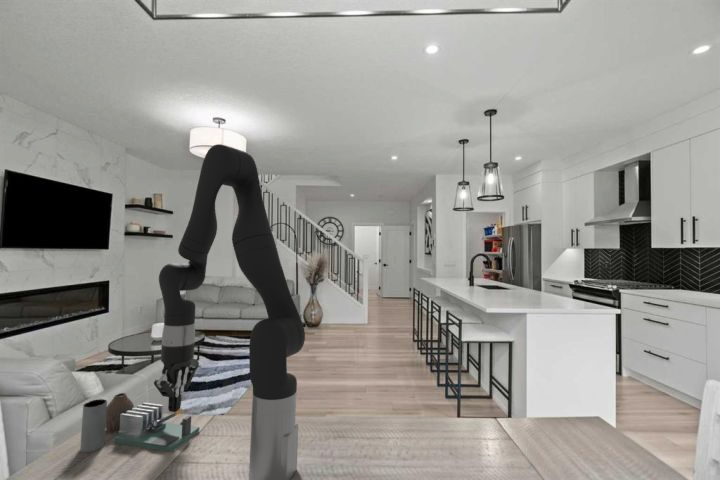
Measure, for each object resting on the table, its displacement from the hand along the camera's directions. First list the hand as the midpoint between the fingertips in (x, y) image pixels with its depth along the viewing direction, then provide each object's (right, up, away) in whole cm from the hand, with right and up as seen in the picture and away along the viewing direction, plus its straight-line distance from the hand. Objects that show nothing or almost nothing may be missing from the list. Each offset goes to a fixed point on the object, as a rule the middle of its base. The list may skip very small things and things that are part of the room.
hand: (174, 410), depth 90 cm
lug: (+3, -5, -1) cm, 6 cm away
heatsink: (-8, -5, 0) cm, 9 cm away
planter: (-16, -6, -6) cm, 18 cm away
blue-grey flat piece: (-1, -2, 0) cm, 3 cm away
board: (-4, -6, -1) cm, 7 cm away
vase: (-16, -6, +3) cm, 18 cm away
